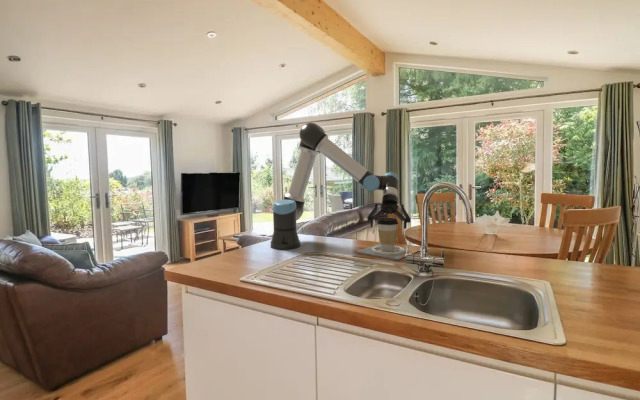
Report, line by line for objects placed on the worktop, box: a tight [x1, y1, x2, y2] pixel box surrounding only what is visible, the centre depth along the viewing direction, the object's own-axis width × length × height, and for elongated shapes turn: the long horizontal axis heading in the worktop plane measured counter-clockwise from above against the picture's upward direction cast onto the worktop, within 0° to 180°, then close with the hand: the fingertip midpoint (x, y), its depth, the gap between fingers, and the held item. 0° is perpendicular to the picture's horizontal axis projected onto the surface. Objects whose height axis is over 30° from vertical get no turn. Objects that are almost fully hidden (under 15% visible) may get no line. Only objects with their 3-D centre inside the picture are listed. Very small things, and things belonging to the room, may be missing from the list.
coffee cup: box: [376, 217, 399, 252], centre depth 165 cm, size 10×10×15 cm
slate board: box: [355, 243, 407, 261], centre depth 166 cm, size 22×22×1 cm
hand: (387, 233), depth 163 cm, fingers open, 13 cm apart
